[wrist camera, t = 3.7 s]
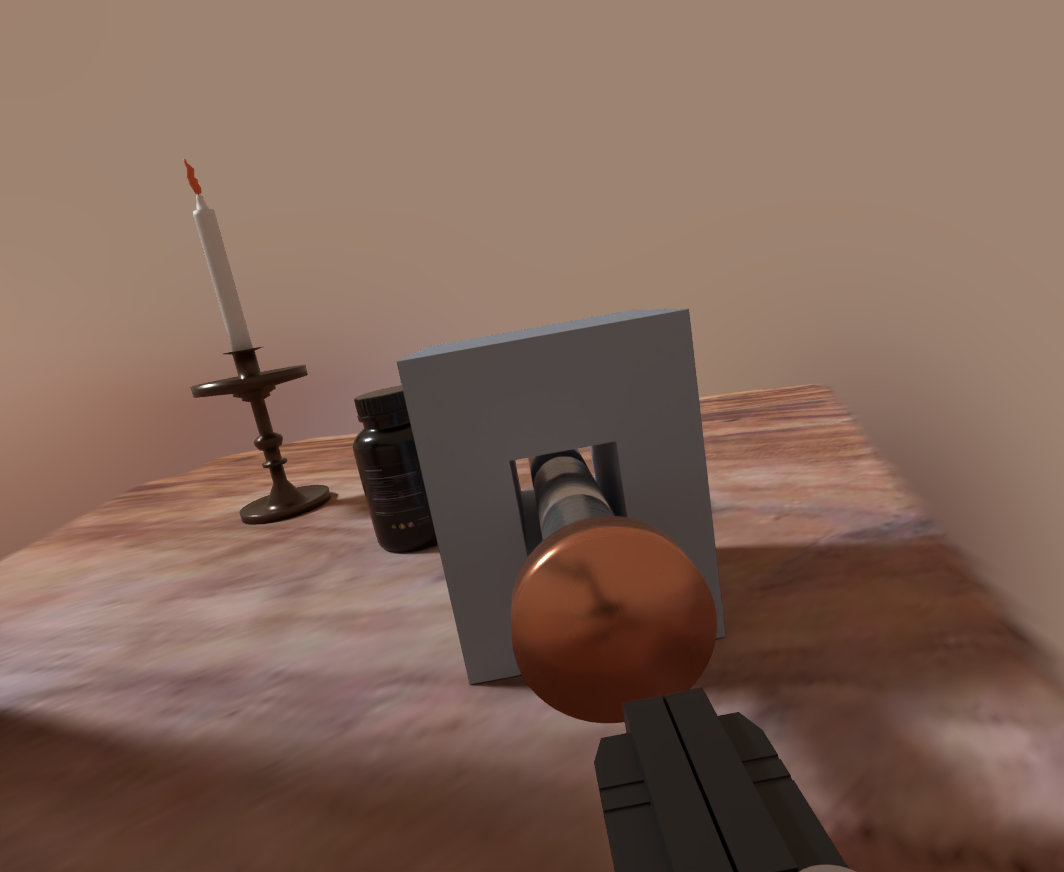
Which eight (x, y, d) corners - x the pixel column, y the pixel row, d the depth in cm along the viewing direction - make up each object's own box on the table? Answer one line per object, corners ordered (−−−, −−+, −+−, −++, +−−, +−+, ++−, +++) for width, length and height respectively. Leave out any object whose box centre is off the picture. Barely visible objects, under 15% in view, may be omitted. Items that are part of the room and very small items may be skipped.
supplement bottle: (393, 525, 50) (360, 390, 47) (469, 514, 49) (440, 377, 46) (365, 560, 43) (325, 405, 41) (452, 548, 42) (417, 390, 40)
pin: (726, 703, 16) (705, 518, 15) (531, 739, 16) (493, 557, 15) (605, 491, 35) (591, 402, 34) (515, 507, 35) (498, 419, 34)
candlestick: (309, 520, 55) (201, 132, 48) (209, 533, 57) (90, 160, 50) (355, 484, 66) (273, 161, 58) (269, 496, 68) (178, 183, 60)
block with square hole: (725, 636, 26) (688, 309, 23) (469, 684, 26) (396, 361, 23) (665, 549, 36) (633, 309, 33) (478, 583, 36) (428, 346, 33)
